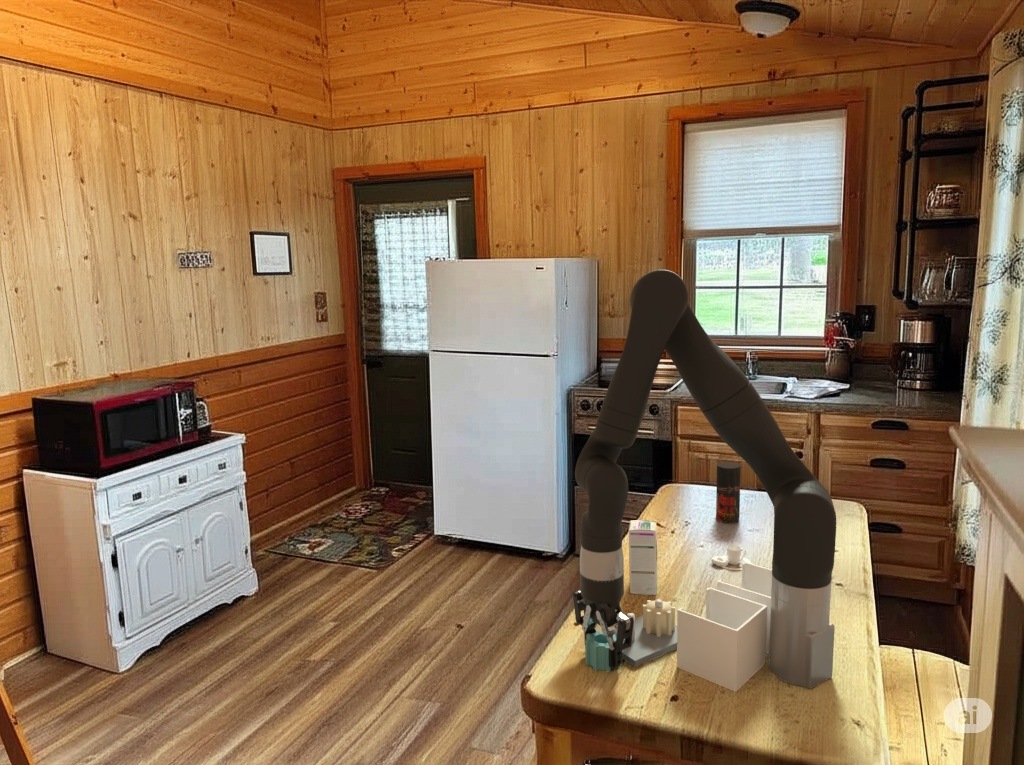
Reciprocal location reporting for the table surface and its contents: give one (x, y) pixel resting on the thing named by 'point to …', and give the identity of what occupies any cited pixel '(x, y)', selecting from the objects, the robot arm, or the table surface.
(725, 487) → the deodorant
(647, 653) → the board
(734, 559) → the teacup and saucer
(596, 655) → the gear
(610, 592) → the robot arm
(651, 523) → the syrup box
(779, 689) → the table surface
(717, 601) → the white folded wall panels
